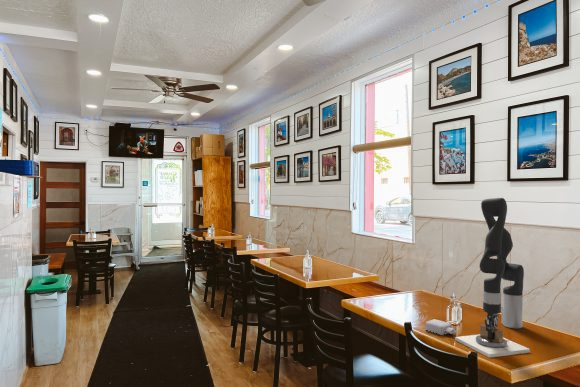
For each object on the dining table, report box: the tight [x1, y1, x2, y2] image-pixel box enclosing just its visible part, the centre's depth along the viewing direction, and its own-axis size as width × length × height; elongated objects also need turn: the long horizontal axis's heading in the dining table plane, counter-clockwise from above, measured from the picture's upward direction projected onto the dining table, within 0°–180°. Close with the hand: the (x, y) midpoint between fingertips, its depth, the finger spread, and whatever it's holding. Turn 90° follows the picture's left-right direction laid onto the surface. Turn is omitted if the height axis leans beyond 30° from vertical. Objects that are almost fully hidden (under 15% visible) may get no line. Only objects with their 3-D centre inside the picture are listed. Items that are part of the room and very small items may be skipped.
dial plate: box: [454, 333, 531, 359], centre depth 192 cm, size 22×22×2 cm
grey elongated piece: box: [425, 318, 459, 336], centre depth 211 cm, size 5×9×15 cm
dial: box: [476, 323, 507, 348], centre depth 192 cm, size 13×13×7 cm
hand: (491, 338), depth 192 cm, fingers closed on dial, 3 cm apart
